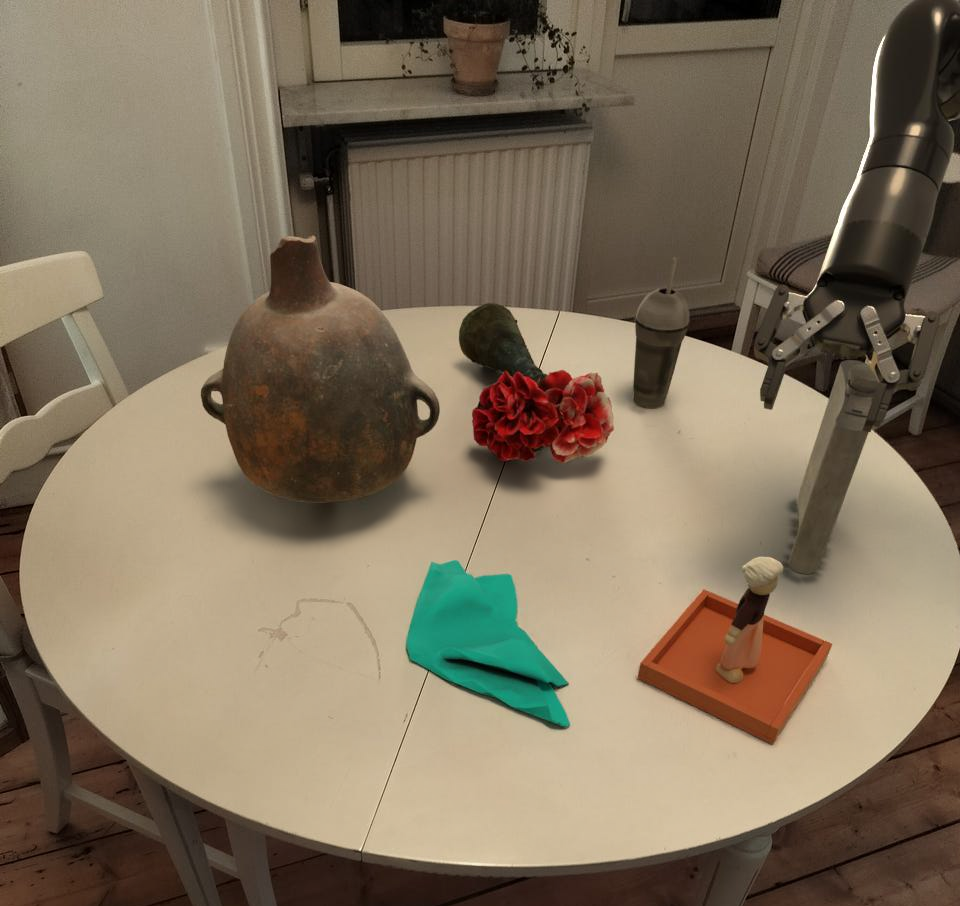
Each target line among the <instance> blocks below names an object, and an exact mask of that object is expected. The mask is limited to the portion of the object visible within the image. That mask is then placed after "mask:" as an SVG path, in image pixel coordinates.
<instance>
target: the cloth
mask: <svg viewBox="0 0 960 906" xmlns="http://www.w3.org/2000/svg"><path fill="white" fill-rule="evenodd" d="M516 591H517V590H516V586H515V583H514V579H513V577H512V574H509V573H501V574H488V575H481V576H477V577H474V575H473V574H471V573H470V574H469V573H467V572H466V570H465V568H464V567H463V566H462V564H461V563H460V561H459V560H457V559H455V560H454V559H453V560H450V561H447V562H443V563H437V562H433V561H431V562H430V564H429V567H428V570H427V573H426V576H425V578H424V581H423V584H422V587H421V589H420V592H419V595H418V597H417V600H416V603H415V606H414V610H413V613H412V616H411V620H410V624H409V628H408V632H407V637H406V645H405V646H406V649H407V653H408V656H409V660H411V661H412V662H415V663H416V662H417V663H416V664H418V665H420V666H421V667H423V668H425V669H427V668H428V669H429V670H428V669H427V670H428V671H430V670H431V671H430V672H431V673H433V674H435V675H437V676H439V677H440V678H442V679H444V680H447V681H449V682H452V683H454V684H457V685H460V686H462V687H464V688H467V689H470V690H472V691H474V692H477V693H478V694H481V695H482V694H483V695H485V696H489V697H492V698H495V699H497V700H499V701H501V702H502V703H504V704H506V705H508V706H509V707H511V708H513V709H516V710H519V711H522V712H523V713H527V714H529V715H531V716H534V717H538V718H540V719H541V720H542V719H543V720H545V721H547V722H550V723H553V724H556V725H559V726H561V727H563V728H568V727H570V726H571V723H570V720H569V717H568V715H567V712H566V710H565V708H564V707H563V705H562V703H561V701H560V699H559V697H558V696H557V694H556V692H555V690H554V688H553V687H552V685H554V686H555V687H557V688H558V687H562V686H563V687H564V686H568V685H570V683H569V682H568V680H566V678H565V677H564V676H563V675H562V674H561V673H560V671H559V670H558V669H557V668H556V667H555V665H554V664H553V663H551V661H550V660H549V659H548V657H546V656H545V654H544V653H543V652H542V651H541V650H540V649H539V647H538V646H537V645H536V644H535V642H534V641H533V640H532V638H531V636H530V635H529V634H528V633H527V632H526V631H525V630H524V629H522V628H521V627H519V623H518V622H517V615H518V597H517V592H516ZM551 683H552V685H551Z"/></svg>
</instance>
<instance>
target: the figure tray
mask: <svg viewBox="0 0 960 906" xmlns="http://www.w3.org/2000/svg"><path fill="white" fill-rule="evenodd" d="M738 604H739V602H738V603H737V602H736V601H733V600H731V599H728V598H726V597H724V596H721V595H718V594H716V593H714V592H711V591H710V590H708V589H705V588H703V589H702V590H701V591H700V592H699V594H697V595H696V597H695V598H694V599H693V600H692V602H691V603H690V604H689V605H688V606H687V608H685V610H684V611H683V612H682V613H681V614H680V616H679V617H678V618H677V619H676V620H675V622H674V623H673V624H672V625H671V626H670V627H669V628H668V630H667V631H666V632H665V633H664V635H663V636H662V637H661V638H660V639H659V640H658V642H657V643H656V644H655V645H654V646H653V647H652V649H650V651H649V652H648V653H647V654H646V656H645V657H644V658H643V659H642V660H641V662H640V663H639V668H638V673H637V679H638V680H639V681H642V682H644V683H646V684H648V685H650V686H652V687H654V688H656V689H658V690H659V691H663V692H664V693H667V694H668V695H670V696H673V697H674V698H676V699H679V700H681V701H683V702H684V703H686V704H688V705H691V706H693V707H695V708H697V709H699V710H701V711H703V712H705V713H707V714H709V715H712V716H713V717H715V718H717V719H719V720H721V721H724V722H726V723H727V724H729V725H732V726H734V727H735V728H738V729H740V730H741V731H744V732H746V733H748V734H750V735H752V736H754V737H756V738H757V739H760V740H762V741H764V742H766V743H768V744H771V745H774V744H775V742H776V741H777V739H778V737H779V736H780V734H781V733H782V731H783V729H784V728H785V726H786V724H787V723H788V722H789V720H790V718H791V716H792V715H793V713H794V712H795V710H796V709H797V707H798V705H799V704H800V703H801V701H802V699H803V698H804V696H805V695H806V693H807V691H808V689H809V688H810V686H811V685H812V683H813V681H814V680H815V678H816V676H817V675H818V674H819V672H820V670H821V669H822V667H823V665H824V664H825V663H826V661H827V659H828V657H829V654H830V651H831V649H832V647H833V643H831V642H829V641H827V640H824V639H822V638H820V637H817V636H816V635H813V634H810V633H808V632H806V631H803V630H801V629H798V628H797V627H794V626H792V625H789V624H786V623H784V622H782V621H780V620H777V619H775V618H773V617H771V616H768V615H766V614H764V615H763V632H762V646H761V653H760V658H759V663H758V665H757V666H755V667H753V668H742V669H741V670H742V672H743V676H744V677H743V680H742V681H740V682H739V683H730V682H728V681H726V680H725V679H724V678H723V677H722V676H720V675H719V674H718V673H717V672H716V670H715V667H716V666H717V665H718V664H719V663H721V658H722V655H723V652H724V650H725V648H726V646H727V644H726V642H725V640H724V638H725V636H726V635H727V634H728V631H729V629H730V627H731V624H732V622H733V620H734V618H735V616H736V615H735V614H736V609H737V606H738Z"/></svg>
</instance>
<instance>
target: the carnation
mask: <svg viewBox="0 0 960 906" xmlns="http://www.w3.org/2000/svg"><path fill="white" fill-rule="evenodd" d="M458 344H459V348H460V350H461V353H462V354H463V355H464V356H465V357H466V358H467V359H468V360H470V362H472V363H474V364H476V365H480V366H483V367H486V368H489V369H491V370H494V371H497V372H502V374H501V375H500V376H499V377H498V379H497V380H496V382H494V383H490V384H489V385H486V386H485V387H484V388H483V389H482V391H481V392H480V395H479V397H478V403H477V406H476V407H474V408H473V409H472V411H471V412H472V413H471V416H472V420H471V422H472V428H473V429H472V431H473V441H475V443H476V444H477V445H478V446H479V447H487V449H488V450H489V451H491V452H492V453H493V454H495V455H496V457H497V458H498V459H499V460H500V461H502V462H509V461H510V460H514V459H517V460H522V461H524V462H528V461H530V460H534V459H538V457H537V456H536V453H538V452H540V451H541V450H542V449H543V448H549V449H550V453H551V455H552V457H553V458H554V459H555V461H557V462H560V463H563V464H564V463H568V462H570V461H572V460H574V459H576V458H578V457H579V458H580V457H582V456H584V457H590V456H593V455H594V454H595V453H596V452H597V451H598V450H600V449H601V448H603V447H604V446H605V444H606V443H607V442H608V439H609V436H610V435H611V433H613V432H614V430H615V426H614V419H615V418H614V413H613V405H612V401H611V399H610V397H609V396H608V395H607V394H606V393H605V388H604V384H603V381H602V377H601V375H599V373H598V372H595V373H594V372H589V373H587V374H585V375H580V376H575V377H572V376H571V374H570V373H569V372H567V370H564V369H560V370H557V371H552V372H551V371H550V372H549V373H548V374H547V373H545V372H544V371H543V370H542V369H541V368H540V367H538V366H537V365H536V364H535V361H534V360H533V358H532V355H531V353H530V350H529V348H528V346H527V344H526V341H525V338H524V337H523V335H522V332H521V330H520V328H519V325H518V319H516V318H515V317H514V315H513V313H512V312H511V310H510V309H508V308H507V307H506V306H505V305H503V304H499V303H494V302H485V303H483V304H481V305H479V306H477V307H475V308H474V309H472V310H471V311H469V312H468V313H467V314H466V315H465V316H464V318H463V319H462V321H461V323H460V327H459V330H458Z"/></svg>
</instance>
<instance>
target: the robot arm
mask: <svg viewBox="0 0 960 906" xmlns="http://www.w3.org/2000/svg"><path fill="white" fill-rule="evenodd" d="M869 100H870V101H869V113H868V138H867V144H866V147H865V149H864V152H863V154H862V156H861V160H860V163H859V165H858V169H857V171H856V175H855V178H854V181H853V184H852V186H851V189H850V191H849V193H848V195H847V197H846V199H845V201H844V203H843V205H842V208H841V210H840V212H839V215H838V218H837V221H836V225H835V228H834V230H833V233H832V236H831V238H830V242H829V244H828V245H829V246H828V248H827V251H826V254H825V257H824V260H823V262H822V266H821V269H820V271H819V274H818V277H817V280H816V282H815V286H814V287H813V289H812V290H811V291H810V292H809V293H808V294H807V295H803V294H799V293H795V292H791V291H790V288H789V286H788V285H785V284H779V285H777V287H776V288H775V290H774V292H773V293H772V294H773V295H772V297H771V299H770V302H769V305H768V307H767V309H766V311H765V314H764V316H763V319H762V321H761V324H760V326H759V328H758V330H757V333H756V335H755V338H754V340H753V341H754V342H753V353H754V354H753V355H754V357H755V359H758V360H762V361H764V362H765V363H766V364H767V368H766V371H765V374H764V377H763V380H762V383H761V386H760V389H759V399H760V402H763V409H765V410H770V411H772V410H773V409H774V405H775V402H776V400H777V398H778V397H777V396H778V394H779V391H780V388H781V385H782V383H783V379H784V376H785V373H786V367H787V366H788V365H790V364H791V363H793V362H794V361H796V360H797V359H798V358H802V357H804V356H805V355H807V354H808V353H810V351H812V350H813V349H815V348H818V349H819V350H820V353H823V354H827V355H835V354H839V355H842V356H844V357H846V358H847V359H852V360H858V358H862V357H865V358H866V360H867V364H868V365H870V368H871V370H872V371H873V372H874V373H875V376H876V378H877V381H878V386H877V389H876V392H875V395H874V398H873V401H872V403H871V406H870V409H869V412H868V415H867V418H866V421H865V424H864V427H863V430H862V431H866V432H869V433H871V431H872V430H873V427H876V428H879V427H880V426H881V425H882V424H883V423H884V421H885V418H886V416H887V413H888V410H889V407H890V404H891V401H892V398H893V396H894V394H895V393H896V392H898V391H901V390H908V391H911V392H912V391H916V390H917V389H918V388H919V387H920V385H921V382H922V380H923V379H924V378H925V374H926V371H927V367H928V364H929V360H930V356H931V353H932V349H933V345H934V342H935V338H936V335H937V331H938V327H939V325H940V324H939V323H940V320H941V315H940V313H938V312H937V311H929V312H927V313H926V314H925V315H920V314H911V313H906V310H905V302H906V298H907V297H908V293H909V290H910V287H911V284H912V281H913V280H914V279H913V278H914V275H915V272H916V270H917V267H918V264H919V261H920V258H921V256H922V252H923V251H924V248H925V246H926V244H927V239H928V234H929V232H930V229H931V225H932V222H933V219H934V214H935V209H936V203H937V200H938V195H939V193H940V190H941V187H942V184H943V181H944V178H945V175H946V173H947V170H948V167H949V165H950V161H951V159H952V155H953V151H954V147H955V133H954V132H955V131H953V127H952V126H951V123H950V122H952V121H955V120H958V119H960V3H959V1H957V0H911V1H910V2H909V3H908V4H906V5H905V6H904V7H903V8H902V9H901V10H900V12H898V13H897V15H896V16H895V17H894V18H893V20H892V21H891V23H890V24H889V25H888V27H887V29H886V31H885V33H884V35H883V37H882V38H881V41H880V44H879V46H878V48H877V52H876V55H875V59H874V64H873V69H872V75H871V87H870V99H869ZM797 311H801V312H802V316H803V319H804V321H805V323H804V324H803V325H801V326H800V327H799V328H797V329H796V330H795V331H794V332H793V333H792V335H790V336H789V337H788V338H787V339H785V340H784V341H782V342H781V343H780V344H778V345H776V344H775V343H773V342H774V340H775V338H776V335H777V333H778V331H779V328H780V326H781V323H782V321H783V320H788V319H790V318H792V317H793V315H794V313H795V312H797ZM901 329H902V330H905V331H906V333H907V340H908V342H909V343H911V344H914V348H913V351H912V355H911V358H910V362H909V365H908V369H899V368H898V366H897V364H896V360H895V359H894V356H893V351H892V347H891V345H890V343H889V339H891V338H892V337H893V336H894V335H896V334H897V333H899V332H900V330H901Z"/></svg>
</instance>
